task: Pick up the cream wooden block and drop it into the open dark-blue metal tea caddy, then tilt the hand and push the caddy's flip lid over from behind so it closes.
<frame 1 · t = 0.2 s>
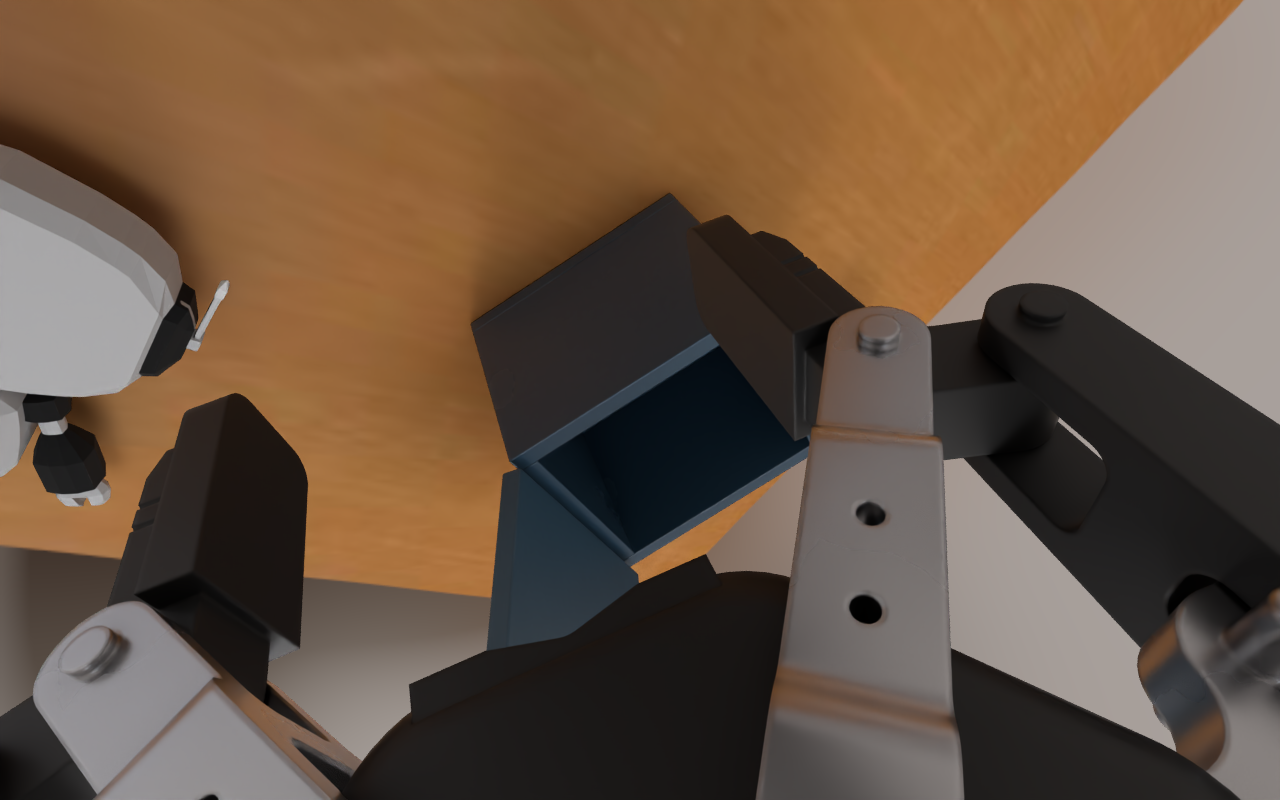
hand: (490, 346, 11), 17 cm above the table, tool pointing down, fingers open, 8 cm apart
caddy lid: (580, 680, 23), point 16 cm above the table, hinge at 108.0°
caddy: (616, 330, 34), on the table
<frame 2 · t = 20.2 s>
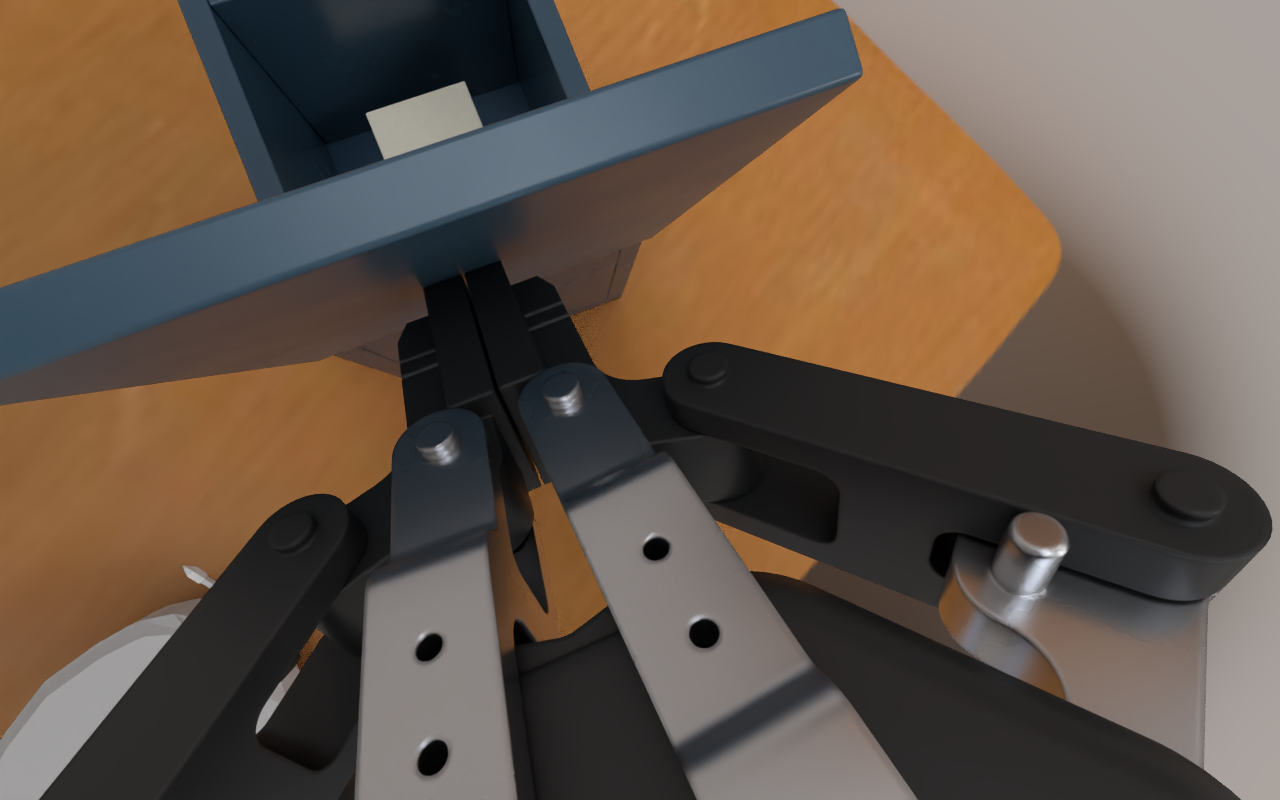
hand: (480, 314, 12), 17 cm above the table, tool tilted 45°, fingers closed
robot toy: (257, 757, 27), on the table
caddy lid: (464, 261, 12), point 16 cm above the table, hinge at 99.9°, touching gripper
caddy: (469, 221, 29), on the table
block: (453, 185, 28), point 1 cm above the table, touching caddy
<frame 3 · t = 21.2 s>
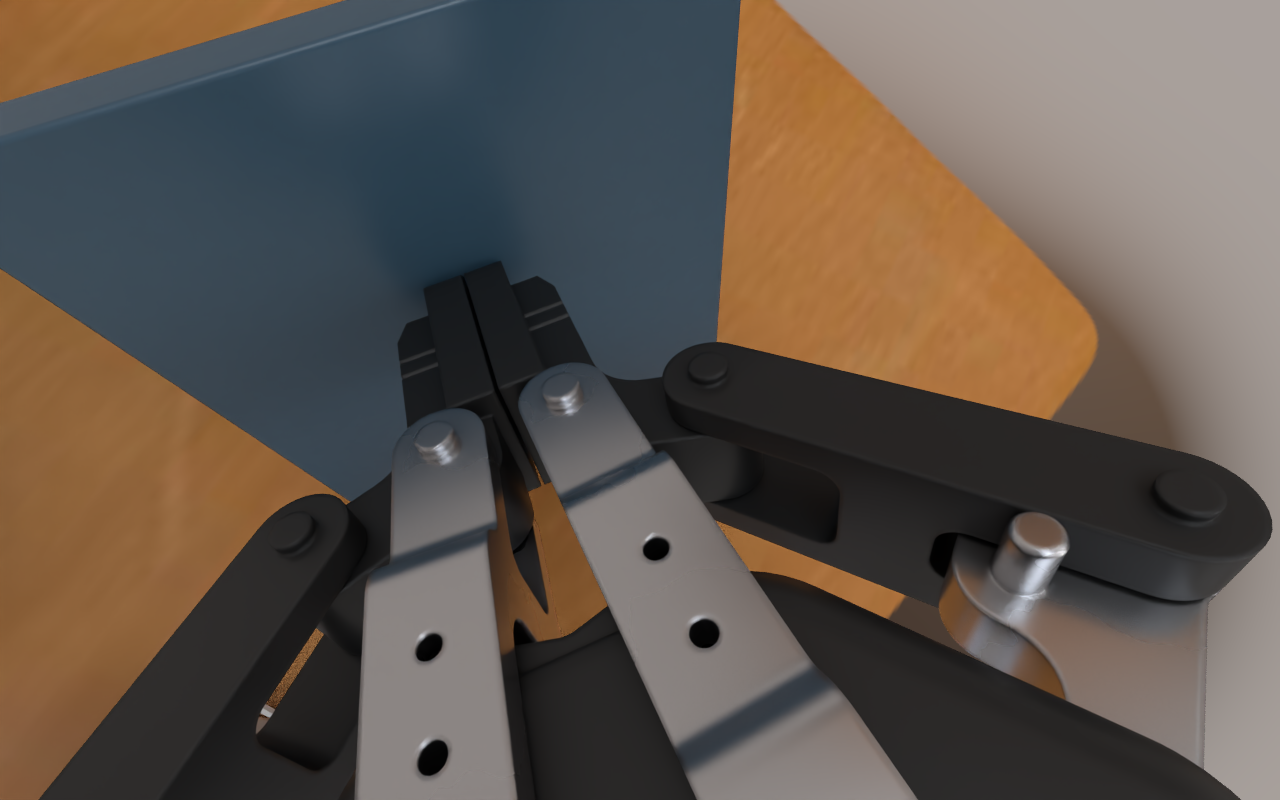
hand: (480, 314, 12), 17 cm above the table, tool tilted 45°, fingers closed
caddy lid: (487, 316, 13), point 16 cm above the table, hinge at 63.0°
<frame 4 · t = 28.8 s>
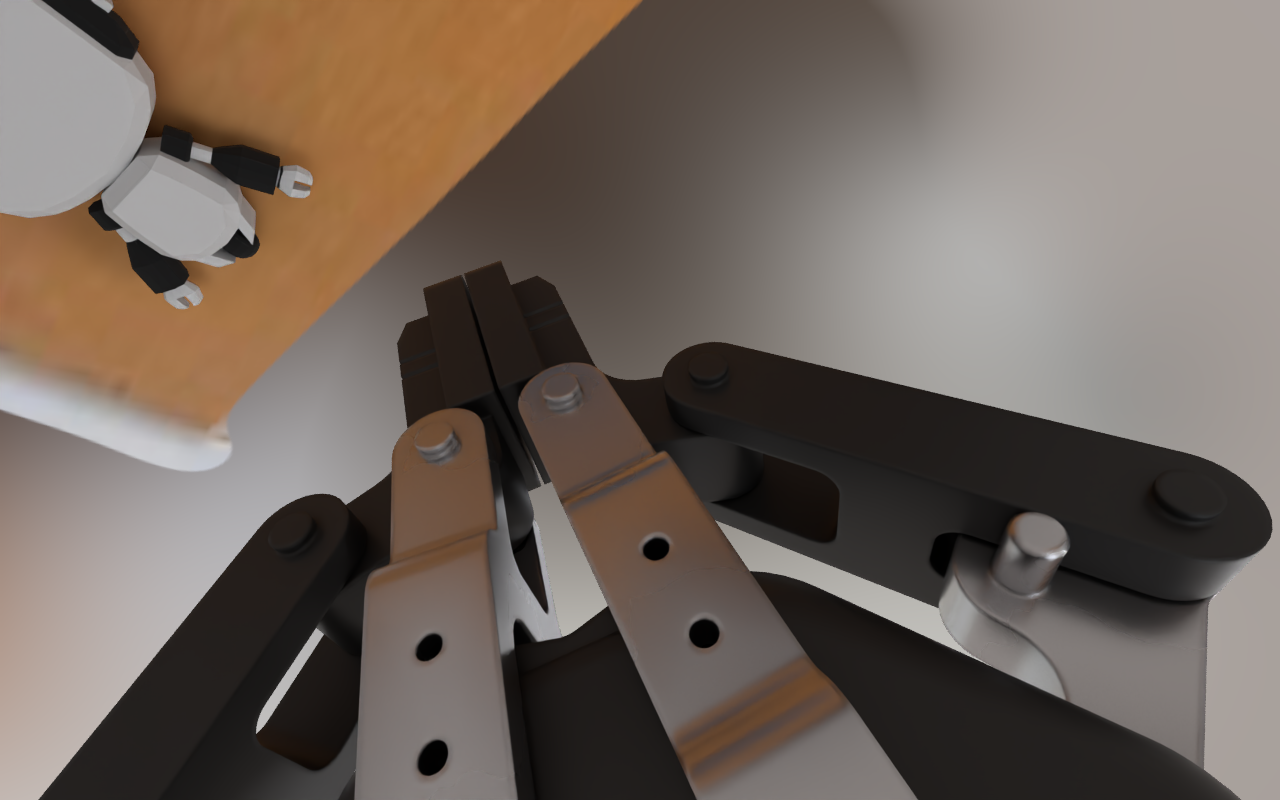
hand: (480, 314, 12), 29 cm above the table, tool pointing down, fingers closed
robot toy: (117, 135, 31), on the table
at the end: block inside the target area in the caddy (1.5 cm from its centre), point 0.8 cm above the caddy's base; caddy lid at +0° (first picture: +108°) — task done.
